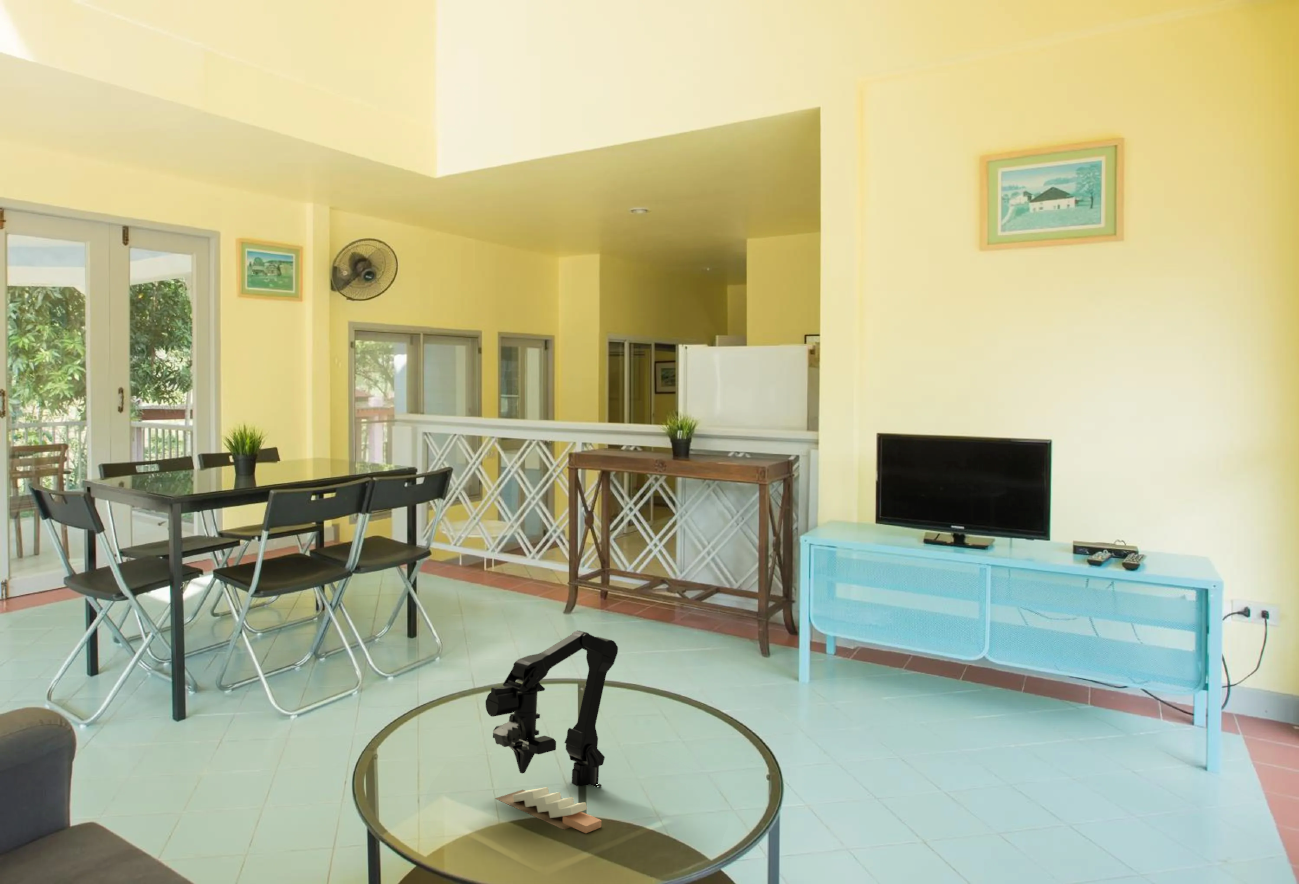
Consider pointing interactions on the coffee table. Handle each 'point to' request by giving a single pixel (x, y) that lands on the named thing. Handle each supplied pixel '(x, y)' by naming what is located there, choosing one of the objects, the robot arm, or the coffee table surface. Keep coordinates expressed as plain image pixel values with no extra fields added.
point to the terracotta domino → (582, 822)
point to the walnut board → (532, 810)
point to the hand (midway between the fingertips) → (522, 772)
